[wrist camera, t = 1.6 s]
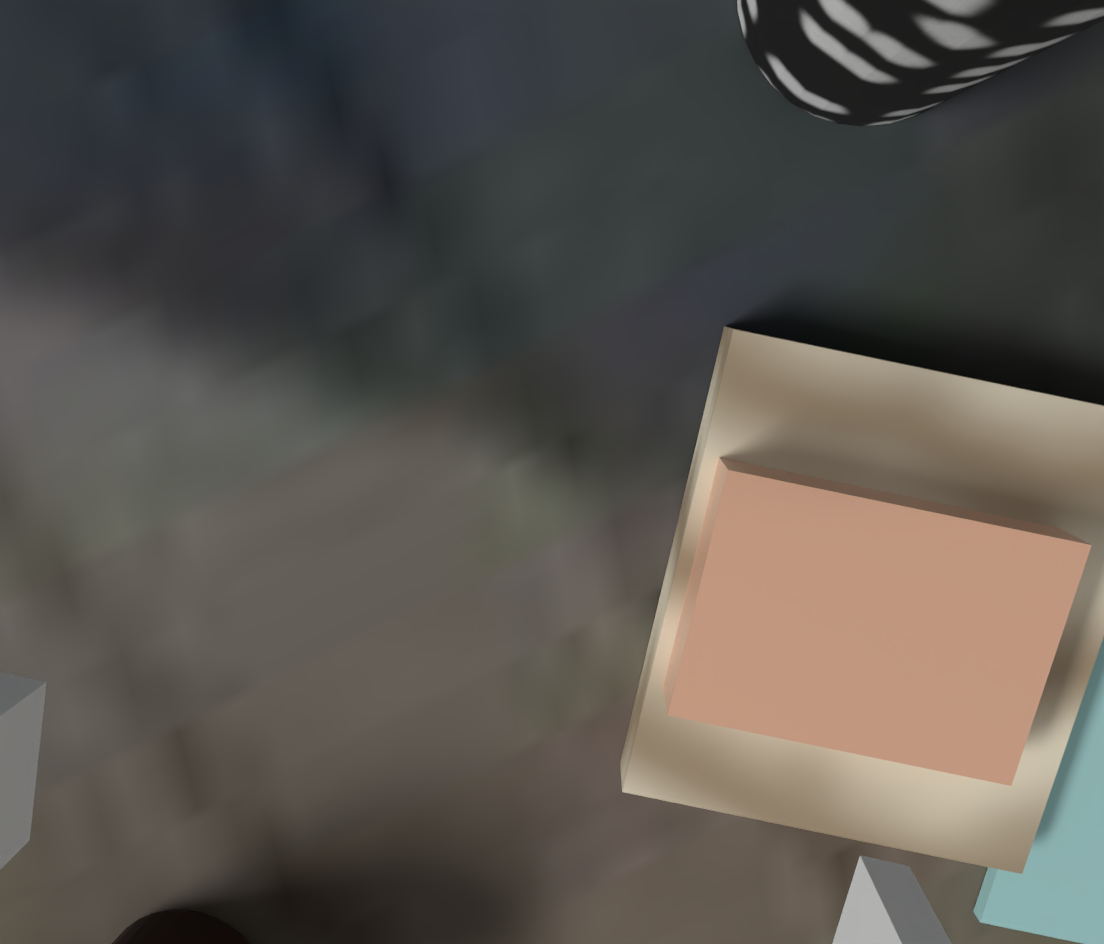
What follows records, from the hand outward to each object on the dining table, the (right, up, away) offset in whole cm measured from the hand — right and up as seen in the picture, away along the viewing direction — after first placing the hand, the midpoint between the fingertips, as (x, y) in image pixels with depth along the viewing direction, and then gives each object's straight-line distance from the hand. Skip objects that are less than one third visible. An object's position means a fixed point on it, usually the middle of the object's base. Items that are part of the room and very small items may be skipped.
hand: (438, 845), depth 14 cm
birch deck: (+13, +1, +18) cm, 22 cm away
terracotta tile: (+12, +1, +16) cm, 20 cm away
